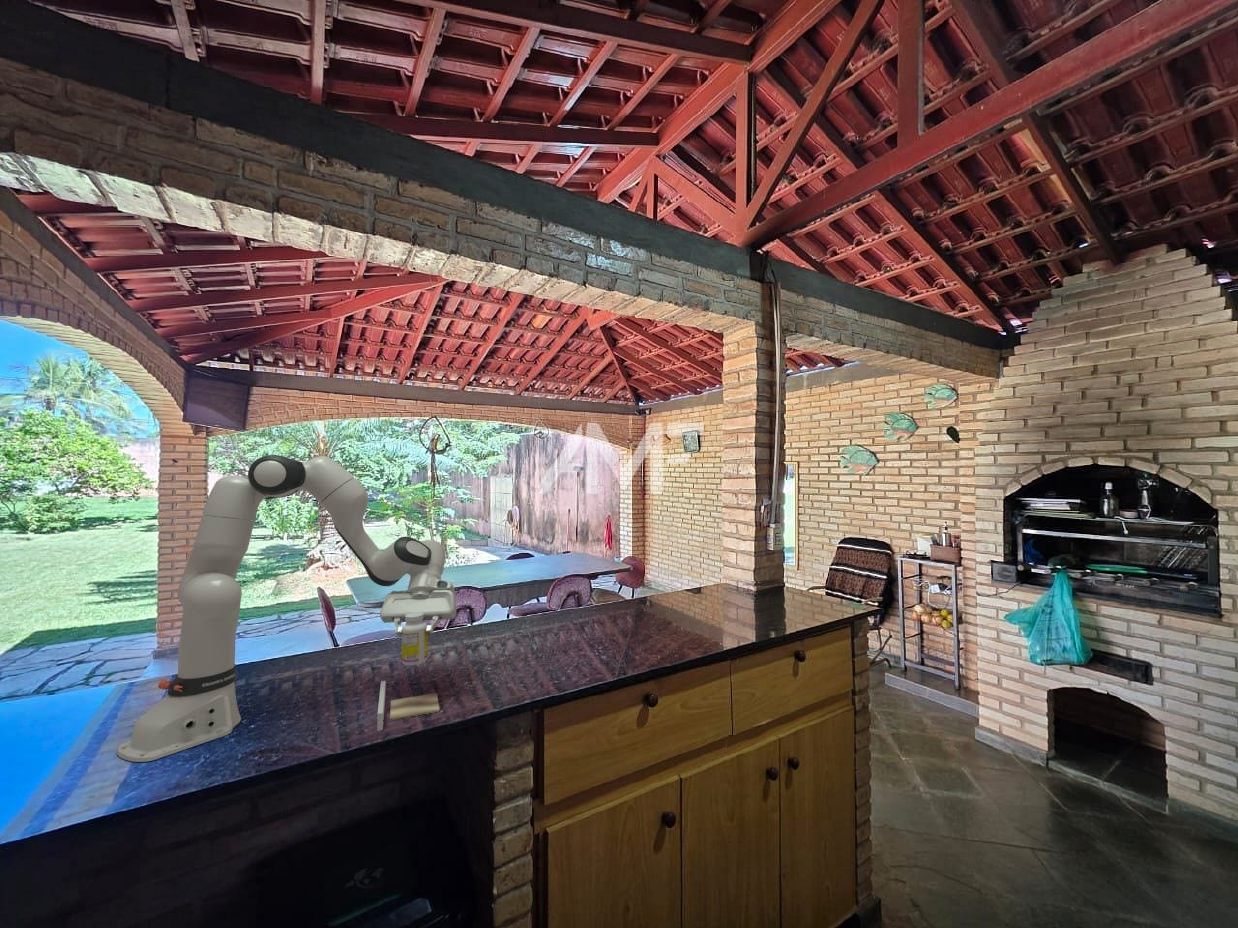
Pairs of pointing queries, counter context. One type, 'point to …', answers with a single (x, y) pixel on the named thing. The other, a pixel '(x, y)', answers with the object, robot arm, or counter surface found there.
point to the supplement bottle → (414, 640)
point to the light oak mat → (414, 706)
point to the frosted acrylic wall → (381, 706)
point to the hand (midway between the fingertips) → (414, 633)
